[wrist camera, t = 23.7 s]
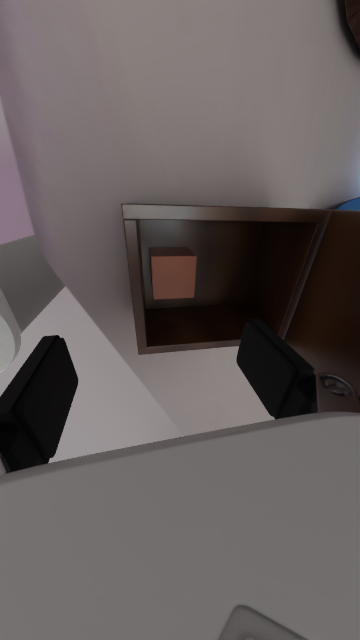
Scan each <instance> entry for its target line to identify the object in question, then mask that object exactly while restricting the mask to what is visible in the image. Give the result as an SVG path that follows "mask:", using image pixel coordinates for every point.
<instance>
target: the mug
mask: <svg viewBox="0 0 360 640" xmlns="http://www.w3.org/2000/svg"><path fill="white" fill-rule="evenodd" d="M345 7H346V15H347V22H348V24H349V26H350V29H351V31H352V33H353V35H354V37H355V40H356V42H357V44H358V46H359V48H360V0H345Z"/></svg>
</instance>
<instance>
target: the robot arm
mask: <svg viewBox="0 0 360 640" xmlns="http://www.w3.org/2000/svg"><path fill="white" fill-rule="evenodd" d="M237 364H238V366H239V367H240V369H241V370H242V372H243V374H244V375H245V377H246V378H247V380H248V381H249V383H250V384H251V386H252V388H253V389H254V391H255V392H256V394H257V395H258V397H259V399H260V400H261V402H262V403H263V405H264V406H265V408H266V410H267V411H268V413H269V414H270V415H271V416H274V418H275V420H270V421H265V422H259V423H254V424H248V425H243V426H237V427H232V428H227V429H221V430H216V431H211V432H205V433H200V434H195V435H189V436H184V437H179V438H174V439H169V440H163V441H158V442H153V443H148V444H143V445H138V446H132V447H127V448H122V449H117V450H112V451H107V452H102V453H96V454H91V455H86V456H81V457H77V458H72V459H67V460H63V461H58V462H53V463H48V462H49V459H50V458H52V457H53V456H54V455H55V453H56V450H57V447H58V444H59V441H60V437H61V434H62V432H63V429H64V425H65V422H66V419H67V416H68V413H69V410H70V407H71V404H72V401H73V398H74V395H75V392H76V389H77V386H78V377H77V374H76V371H75V368H74V365H73V362H72V360H71V357H70V354H69V351H68V349H67V345H66V342H65V340H64V338H60V337H59V336H58V335H54V336H44V337H43V338H42V339H41V340H40V342H39V343H38V345H37V346H36V347H35V349H34V350H33V352H32V353H31V354H30V356H29V357H28V359H27V360H26V361H25V363H24V364H23V366H22V367H21V368H20V370H19V371H18V373H17V374H16V376H15V377H14V378H13V380H12V381H11V383H10V384H9V385H8V387H7V388H6V390H5V391H4V392H3V394H2V395H1V397H0V640H360V397H359V396H358V393H357V391H356V389H355V388H354V387H353V385H352V384H351V383H349V382H348V381H347V380H345V379H343V378H342V377H340V376H337V375H335V374H331V373H325V372H322V373H318V374H317V375H315V374H314V373H313V372H314V370H315V369H314V368H313V367H312V366H311V365H310V364H309V363H308V362H307V361H306V360H305V359H304V358H302V357H301V356H300V355H299V354H298V353H297V352H296V351H295V350H294V349H293V348H292V347H290V346H289V345H288V344H287V343H286V342H285V341H284V340H283V339H282V338H281V337H279V336H278V335H277V334H276V333H275V332H274V331H273V330H272V329H271V328H270V327H269V326H267V325H266V324H265V323H264V322H263V321H262V320H261V319H259V318H257V319H249V320H248V321H247V322H245V324H244V328H243V333H242V337H241V341H240V346H239V350H238V355H237Z"/></svg>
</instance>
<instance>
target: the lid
mask: <svg viewBox="0 0 360 640" xmlns="http://www.w3.org/2000/svg"><path fill="white" fill-rule="evenodd" d="M284 341H285V342H286V343H287V344H288V345H289V346H290V347H292V348H293V349H294V350H295V351H296V352H297V353H298V354H299V355H300V356H301V357H302V358H304V359H305V360H306V361H307V362H308V363H309V364H310V365H311V366H312V367H313V368H314V369H315V370H314V372H313V373H314V374H315V375H317V374H318V373H322V372H325V373H331V374H335V375H337V376H340V377H342V378H343V379H345V380H347V381H348V382H349V383H351V384H352V385H353V387H354V388H355V389H356V391H357V393H358V396H359V397H360V211H359V210H333V211H332V213H331V216H330V218H329V221H328V223H327V226H326V229H325V231H324V234H323V237H322V239H321V242H320V245H319V247H318V250H317V253H316V255H315V258H314V261H313V263H312V266H311V268H310V271H309V274H308V276H307V279H306V282H305V284H304V287H303V290H302V292H301V295H300V298H299V300H298V303H297V306H296V308H295V311H294V314H293V316H292V319H291V321H290V324H289V327H288V329H287V332H286V335H285V337H284Z"/></svg>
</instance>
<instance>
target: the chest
mask: <svg viewBox="0 0 360 640" xmlns="http://www.w3.org/2000/svg"><path fill="white" fill-rule="evenodd" d="M121 206H122V215H123V219H124V220H123V223H124V232H125V241H126V249H127V258H128V267H129V276H130V285H131V293H132V302H133V311H134V320H135V329H136V337H137V346H138V354H139V355H142V354H153V353H164V352H175V351H186V350H197V349H209V348H220V347H231V346H240V341H241V337H242V333H243V328H244V324H245V322H247V321H248V320H249V319H257V318H259V319H261V320H262V321H263V322H264V323H265V324H266V325H267V326H269V327H270V328H271V329H272V330H273V331H274V332H275V333H276V334H277V335H278V336H279V337H281V338H282V339H283V340H284V337H285V335H286V332H287V329H288V327H289V324H290V321H291V319H292V316H293V313H294V311H295V308H296V305H297V303H298V300H299V298H300V295H301V292H302V290H303V287H304V284H305V282H306V279H307V276H308V274H309V271H310V268H311V266H312V263H313V260H314V258H315V255H316V252H317V250H318V247H319V245H320V242H321V239H322V237H323V234H324V231H325V229H326V226H327V222H328V221H329V218H330V216H331V213H332V211H333V210H329V209H299V208H268V207H233V206H198V205H163V204H121ZM150 247H188V248H189V249H190V250H191V251H192V252H193V253H194V254H195V255H196V256H197V260H196V274H195V289H194V297H193V298H172V299H153V294H152V285H151V267H150V249H149V248H150Z"/></svg>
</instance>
